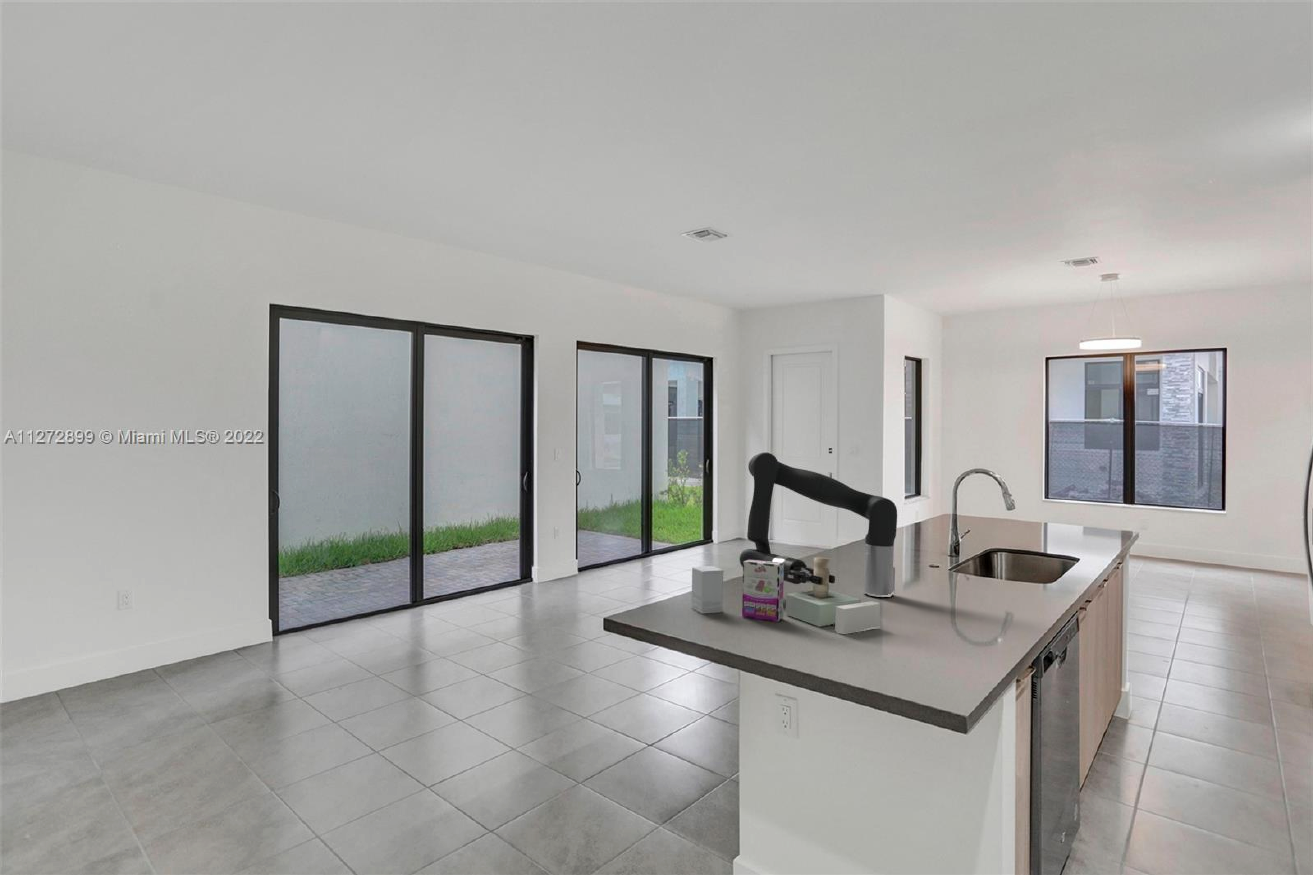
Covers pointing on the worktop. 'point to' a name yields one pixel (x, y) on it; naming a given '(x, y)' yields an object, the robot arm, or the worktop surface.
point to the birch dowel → (822, 571)
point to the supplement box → (707, 589)
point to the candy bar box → (763, 590)
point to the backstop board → (857, 617)
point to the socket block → (816, 606)
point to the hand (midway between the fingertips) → (827, 580)
